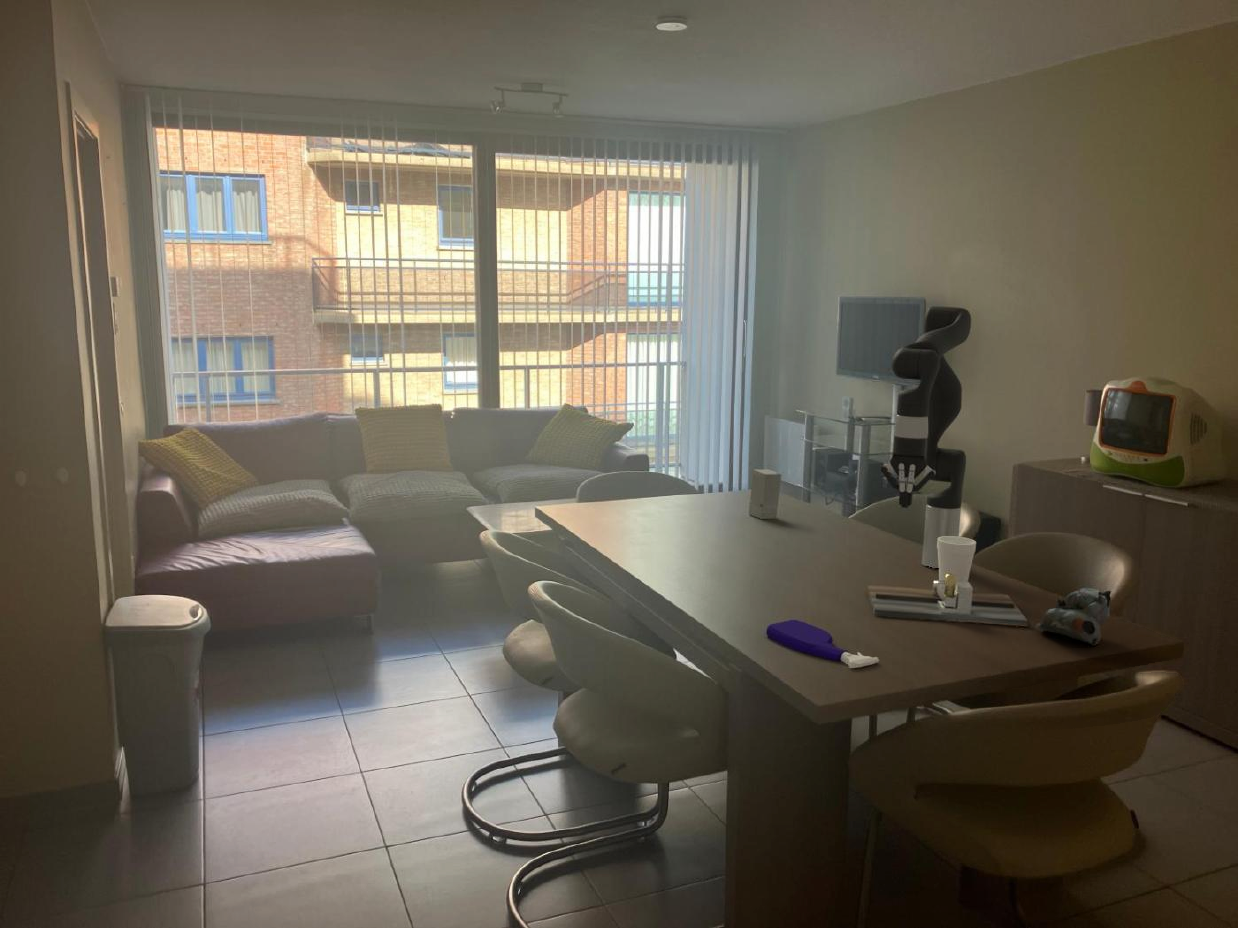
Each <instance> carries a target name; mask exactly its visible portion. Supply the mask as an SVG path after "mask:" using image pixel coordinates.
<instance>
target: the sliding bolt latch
mask: <svg viewBox="0 0 1238 928" xmlns="http://www.w3.org/2000/svg"><path fill="white" fill-rule="evenodd" d="M867 590H868V591H867V593H868V597H870V598H869V602H870V601H871V602H870V605H871V604H872V605H871V608H873V609H872V612H873V615H875V616H874V617H884V616H887V617H888V618H900V619H911V618H918V619H917V620H924V619H940V620H956V621H958V620H962V621H979V622H995V623H1006V624H1007V623H1008V624H1018V625H1027V626H1028V619H1027V618H1026V617H1025V615H1024V613H1023V612H1022V611H1021V610H1020V609H1019V608H1018V606H1017V605H1016V604H1015V603H1014V601H1013V600H1012V598H1011V597H1010V596H1009V594H1001V593H985V592H972V603H971V615H958V614H945V613H940V611H939V609H938V607H937V601H942V600H941V598H940V596H939V595H938V593H937V591H935V590H933V589H930V588H914V587H900V586H889V585H888V586H885V585H873V584H872V585H871V584H867ZM887 617H886V618H887Z"/></svg>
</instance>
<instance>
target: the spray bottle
mask: <svg viewBox="0 0 1238 928" xmlns="http://www.w3.org/2000/svg"><path fill="white" fill-rule="evenodd" d="M765 635H766V636H767V637H768V638H769V639H770V640H772V641H774V642H776V643H778V644H780V645H782V646H784V647H787V648H790V649H792V650H795V651H796V652H799V653H803V654H806V655H809V656H810V655H811V656H815V657H819V658H824V659H828V660H832V661H836V662H837V661H838V662H842V663H844V664H845V665H848V668H849V669H855V668H857V669H858V668H863V667H865V666H870V665H874V664H876V663H878V662H879V661H880V659H879V657H878V656H875V657H874V656H873V657H872V656H869V655H867V656H866V655H863V654H862V653H860V652H859V651H857V652H856V653H857V654H852V653H850V652H849V651H848V650H847V649H841V648H840V647H838V646H835V645H833V642H834V639H833V636H832V634H831V633H830V632H828V631H826V630H825V629H822V628H820V627H817V626H814V625H812V624H809V623H807V622H805V621H802V620H797V619H789V620H785V621H781V622H780V621H779V622H776V623H771V624H769V625H768V626H767V628H766V631H765Z"/></svg>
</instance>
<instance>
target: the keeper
mask: <svg viewBox="0 0 1238 928" xmlns="http://www.w3.org/2000/svg"><path fill="white" fill-rule="evenodd" d="M973 589H974V588H973V585H971V583H970V582H969V581H968V582H956V589H955V597H956V607H951V606H945V605H944V604H943V602H942V601H937V607H938V609H939V611H940V613H945V614H958V615H971V603H972V592H973Z"/></svg>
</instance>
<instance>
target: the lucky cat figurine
mask: <svg viewBox="0 0 1238 928" xmlns="http://www.w3.org/2000/svg"><path fill="white" fill-rule="evenodd" d="M1111 592H1112V591H1111V590H1106V591H1104V592H1103V591H1100V590H1099V589H1095V588H1089V587H1081V588H1080V589H1078V590H1076V591H1075V590H1074V591H1073V592H1071V593H1069V594H1068V595H1067V596H1066V597H1065V598H1064V597H1062V596H1060V597H1059V598H1057V601H1056V602H1057V606H1055V607H1053V608H1050V609H1048V610H1047V611H1046V612H1045V614H1044V615H1043V616H1042V620H1041V622H1040V623H1039V622H1038V623H1037V625H1035V627H1036V629H1038V630H1039V631H1041V630H1043V631H1044V632H1047V631H1049V632H1048V633H1056V634H1059V635H1062V636H1065V637H1068V638H1072V639H1075V640H1078V641H1081V642H1083V643H1086V642H1087V643H1086V644H1088V643H1090V644H1093V645H1094V644H1096V643H1099V644H1100V641H1101V637H1102V636H1101V635H1102V626H1103V624H1104V623H1105V622H1106V621H1108V619H1109V617H1110V609H1111V607H1110V604H1111Z"/></svg>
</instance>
